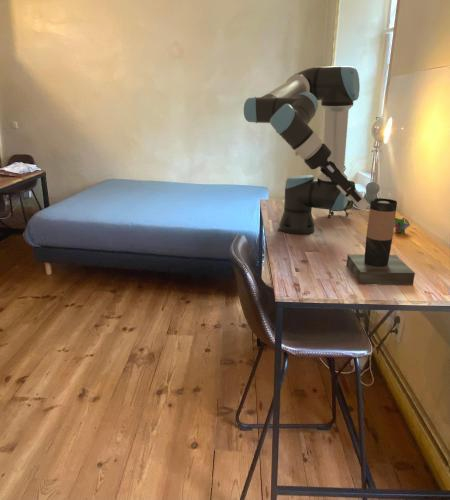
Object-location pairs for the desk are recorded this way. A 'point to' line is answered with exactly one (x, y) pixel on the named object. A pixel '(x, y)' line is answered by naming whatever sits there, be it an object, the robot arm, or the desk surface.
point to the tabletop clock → (349, 204)
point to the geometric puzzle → (401, 225)
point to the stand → (380, 271)
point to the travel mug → (380, 232)
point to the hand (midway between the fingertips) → (359, 202)
